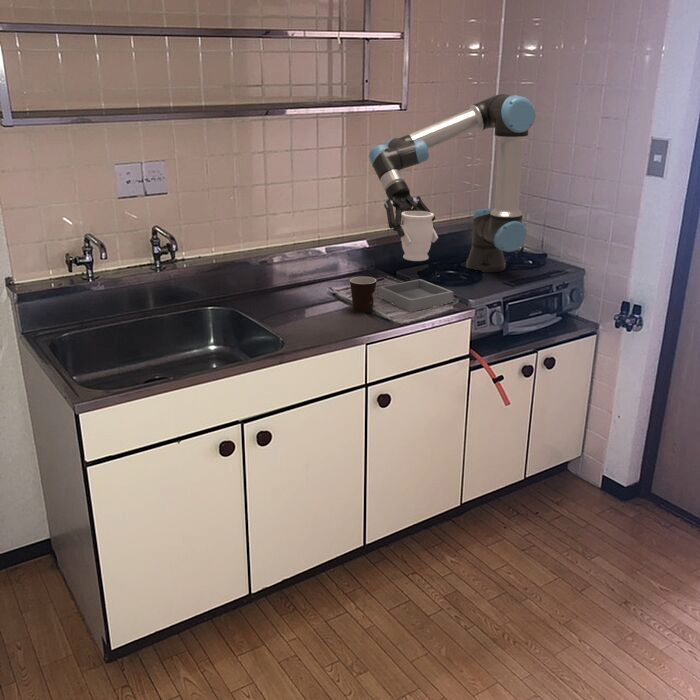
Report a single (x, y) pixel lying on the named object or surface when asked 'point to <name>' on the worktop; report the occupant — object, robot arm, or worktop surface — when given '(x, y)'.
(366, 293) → the coffee mug
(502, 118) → the robot arm
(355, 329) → the worktop surface
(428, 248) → the jar
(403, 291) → the tray
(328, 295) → the worktop surface
